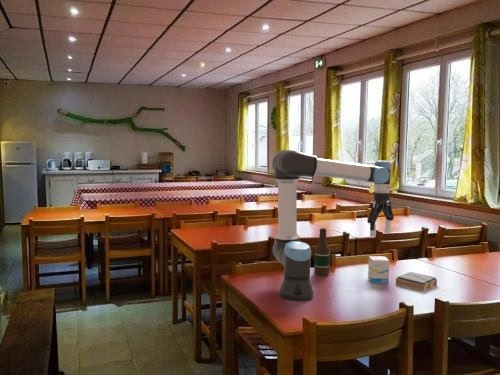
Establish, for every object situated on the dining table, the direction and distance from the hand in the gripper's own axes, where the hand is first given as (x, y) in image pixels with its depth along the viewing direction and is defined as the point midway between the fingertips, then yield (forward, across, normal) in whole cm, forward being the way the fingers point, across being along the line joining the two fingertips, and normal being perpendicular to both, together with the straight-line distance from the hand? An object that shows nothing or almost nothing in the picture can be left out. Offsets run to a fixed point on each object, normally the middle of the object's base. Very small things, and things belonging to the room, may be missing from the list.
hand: (380, 235), depth 231 cm
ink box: (+24, 0, 0) cm, 24 cm away
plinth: (+23, +8, -16) cm, 29 cm away
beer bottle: (+23, -12, +26) cm, 37 cm away
